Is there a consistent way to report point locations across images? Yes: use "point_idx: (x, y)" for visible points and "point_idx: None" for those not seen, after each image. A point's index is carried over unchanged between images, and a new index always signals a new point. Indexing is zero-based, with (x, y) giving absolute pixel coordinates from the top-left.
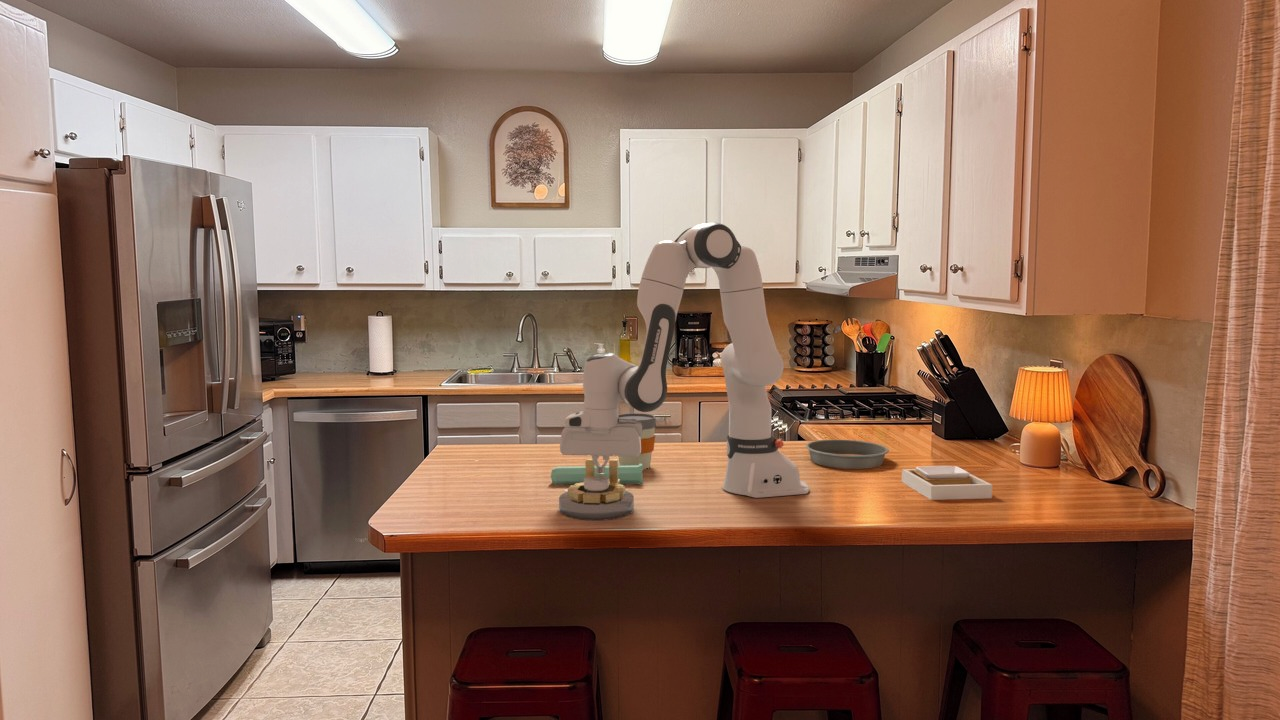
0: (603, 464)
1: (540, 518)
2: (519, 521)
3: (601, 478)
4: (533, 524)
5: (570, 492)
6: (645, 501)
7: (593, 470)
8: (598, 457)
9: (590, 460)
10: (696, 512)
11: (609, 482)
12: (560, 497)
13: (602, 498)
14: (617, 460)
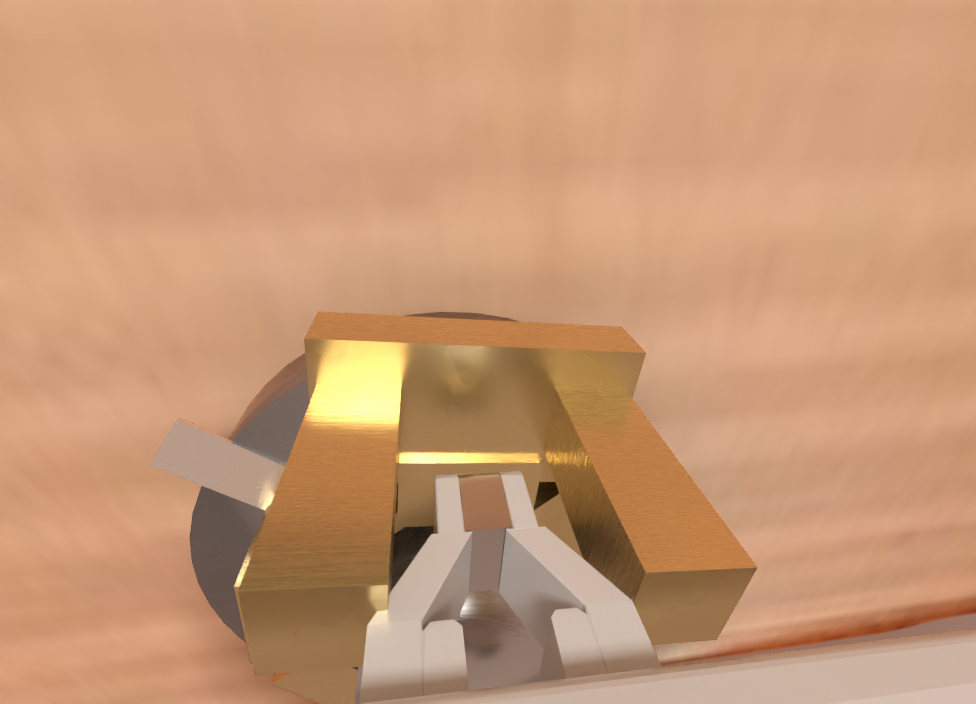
0: (527, 619)
1: (194, 638)
2: (112, 678)
3: (499, 677)
4: (201, 691)
5: (293, 686)
6: (734, 342)
7: (394, 529)
8: (462, 652)
9: (340, 663)
10: (902, 489)
11: (544, 461)
12: (213, 593)
13: None
14: (727, 616)
